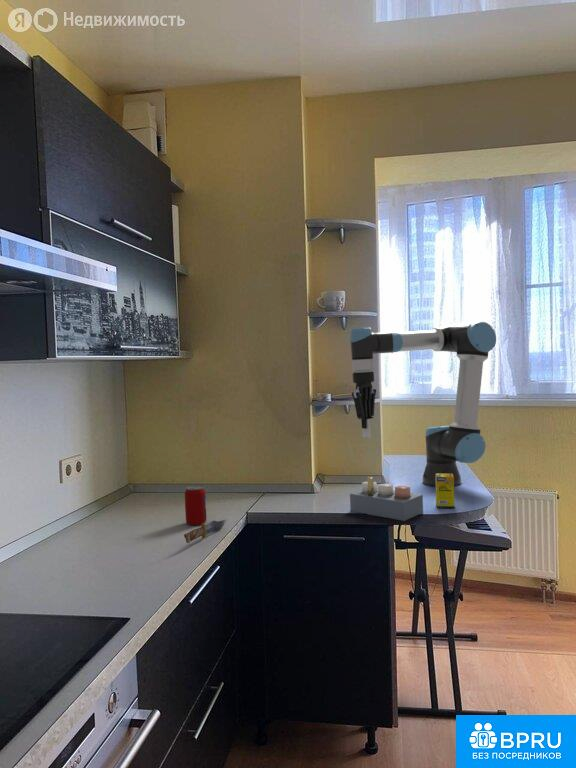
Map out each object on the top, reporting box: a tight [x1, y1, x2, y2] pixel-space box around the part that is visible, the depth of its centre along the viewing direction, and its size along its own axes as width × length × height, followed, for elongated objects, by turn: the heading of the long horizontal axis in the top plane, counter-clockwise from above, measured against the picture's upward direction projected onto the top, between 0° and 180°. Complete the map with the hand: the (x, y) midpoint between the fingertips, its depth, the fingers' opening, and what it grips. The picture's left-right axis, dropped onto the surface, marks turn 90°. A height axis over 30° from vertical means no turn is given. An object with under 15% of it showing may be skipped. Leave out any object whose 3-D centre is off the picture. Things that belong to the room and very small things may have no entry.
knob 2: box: [377, 483, 394, 496], centre depth 196 cm, size 5×5×8 cm
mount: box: [349, 487, 424, 522], centre depth 196 cm, size 12×21×6 cm, turn 48°
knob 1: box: [361, 481, 378, 493], centre depth 200 cm, size 5×5×8 cm
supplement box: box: [435, 474, 456, 509], centre depth 200 cm, size 6×6×11 cm
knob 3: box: [394, 485, 411, 499], centre depth 192 cm, size 5×5×8 cm
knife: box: [183, 518, 227, 544], centre depth 175 cm, size 25×1×5 cm, turn 158°
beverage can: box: [184, 485, 208, 526], centre depth 191 cm, size 7×7×12 cm
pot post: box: [366, 476, 375, 496], centre depth 195 cm, size 2×2×6 cm
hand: (366, 437), depth 208 cm, fingers closed
